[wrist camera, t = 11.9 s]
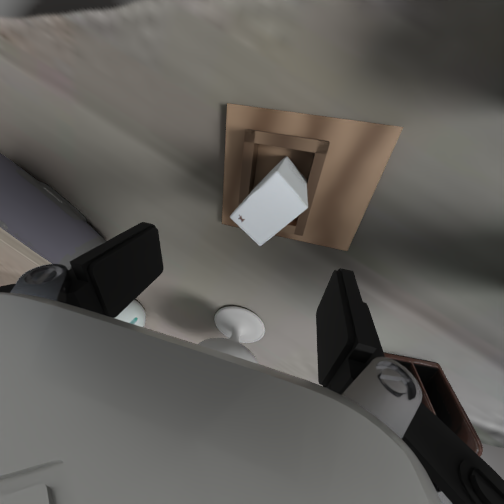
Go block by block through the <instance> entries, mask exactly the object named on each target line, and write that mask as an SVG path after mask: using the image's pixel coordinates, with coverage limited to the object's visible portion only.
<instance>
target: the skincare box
mask: <svg viewBox="0 0 504 504" xmlns="http://www.w3.org/2000/svg"><path fill="white" fill-rule="evenodd" d="M307 208H308V197H307V180H306V178H305V177H304V176H303V175H302V173H301V172H300V171H299V170H298V169H297V167H296V166H295V165H294V164H293V162H292V161H291V160H290V159H289V158H288V157H287V156H285V157H284V158H283V159H282V160H281V161H280V162H279V163H278V164H277V165H276V166H275V167H274V168H273V169H272V170H271V171H270V172H269V173H268V174H267V175H266V176H265V177H264V178H263V179H262V180H261V182H260V183H259V184H258V185H257V186H256V187H255V188H254V189H253V190H252V191H251V192H250V194H249V195H248V196H247V197H246V198H245V199H244V200H243V202H242V203H241V204H240V205H239V206H238V207H237V208H236V209H235V211H234V212H233V213H232V214H231V216H230V218H231V219H232V220H233V221H234V222H235V223H236V224H237V225H238V226H239V227H240V228H241V229H242V230H243V231H244V232H245V233H247V234H248V235H249V236H250V237H251V238H252V239H253V240H254V241H255V242H256V243H257V244H258V245H259V246H261V245H263V244H264V243H265V242H266V241H268V240H269V239H270V238H272V237H273V236H274V235H275V234H277V233H278V232H279V231H280V230H281V229H283V228H284V227H285V226H286V225H287V224H289V223H290V222H291V221H292V220H294V219H295V218H296V217H297V216H299V215H300V214H301V213H302V212H304V211H305V210H306V209H307Z"/></svg>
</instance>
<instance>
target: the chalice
mask: <svg viewBox="0 0 504 504" xmlns="http://www.w3.org/2000/svg"><path fill="white" fill-rule="evenodd" d="M214 321H215V324H216V326H217V328H218V329H219V331H220V332H221V333H222V334H223V335H225V336H226V337H228V338H229V339H227V338H210V339H206V340H204V341H202V342H200V343H199V344H198V345H201V346H204V347H207V348H210V349H213V350H217V351H220V352H223V353H226V354H229V355H232V356H235V357H238V358H241V359H245V360H248V361H251V362H254V363H257V364H259V363H258V361H257V359H256V358H255V356H254V355H253V354H252V353H251V351H250V350H249V349H247V348H246V347H245V346H243V345H242V344H240V343H239V342H241V343H252V342H256V341H258V340H260V339H261V338H262V337H263V336H264V334H265V326H264V324H263V322H262V320H261V319H260V318H259V317H258V316H257V315H256V314H254V313H253V312H251V311H249V310H247V309H245V308H242V307H237V306H228V307H224V308H221V309H220V310H218V311H217V312H216V314H215V317H214Z"/></svg>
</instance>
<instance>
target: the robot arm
mask: <svg viewBox="0 0 504 504" xmlns="http://www.w3.org/2000/svg"><path fill="white" fill-rule="evenodd" d="M70 264H71V267H72V269H70V270H68V269H67V267H66V266H64V265H62V264H48V265H43V266H40V267H36V268H34V269H32V270H29V271H27V272H26V273H24V274H23V275H22V276H21V277H20V278H19V280H18V281H17V283H16V284H11V285H6V286H1V287H0V504H504V480H503V479H502V478H501V477H500V476H499V475H498V474H497V473H496V472H495V471H494V470H493V469H492V468H491V467H490V466H489V465H488V464H487V463H486V462H485V461H483V459H481V458H480V457H479V456H478V455H477V454H476V453H475V452H474V451H473V450H472V449H471V448H470V447H469V446H468V445H467V444H466V443H465V442H463V441H462V440H461V439H460V438H459V437H458V436H457V435H456V434H455V433H454V432H453V431H452V430H451V429H450V428H449V427H448V426H446V425H445V424H444V423H443V422H442V421H441V420H440V419H439V418H438V417H437V416H436V415H435V414H434V413H433V412H432V411H431V410H429V409H428V408H427V407H426V406H425V405H424V404H423V403H422V402H421V401H422V396H423V395H422V390H421V387H420V385H419V383H418V381H417V380H416V378H415V377H414V376H413V375H412V373H411V372H410V371H409V370H408V369H406V368H405V367H404V366H403V365H401V364H400V363H399V362H397V361H395V360H393V359H391V358H387V357H385V356H384V353H383V350H382V347H381V344H380V341H379V338H378V335H377V332H376V329H375V326H374V323H373V320H372V317H371V314H370V311H369V308H368V306H367V304H366V303H364V302H363V301H362V298H361V295H360V292H359V289H358V285H357V282H356V279H355V276H354V273H353V271H349V270H345V269H341V268H340V269H339V270H338V271H336V270H335V271H334V272H333V274H332V276H331V279H330V281H329V283H328V286H327V288H326V290H325V292H324V295H323V297H322V299H321V302H320V304H319V306H318V309H317V313H316V325H317V352H318V379H319V384H321V385H323V387H322V386H320V385H317V384H315V383H312V382H310V381H307V380H304V379H301V378H298V377H295V376H293V375H290V374H287V373H284V372H281V371H278V370H275V369H272V368H269V367H266V366H263V365H260V364H257V363H254V362H251V361H248V360H245V359H241V358H238V357H235V356H232V355H229V354H226V353H223V352H220V351H217V350H213V349H210V348H207V347H204V346H201V345H198V344H195V343H191V342H188V341H185V340H182V339H179V338H176V337H173V336H169V335H166V334H163V333H160V332H157V331H153V330H150V329H147V328H144V327H141V326H138V325H134V324H131V323H128V322H125V321H121V320H118V319H115V317H117V316H118V315H119V314H120V313H121V312H122V311H123V310H124V309H125V308H126V307H127V306H128V305H129V304H130V303H131V302H132V301H133V300H134V299H135V298H136V297H137V296H139V295H140V294H141V293H142V292H143V291H144V290H145V289H146V288H147V287H148V286H149V285H150V284H151V283H152V282H153V281H154V280H155V279H156V278H157V277H158V276H159V275H160V274H161V273H162V272H163V262H162V255H161V248H160V241H159V234H158V229H157V228H156V227H155V225H153V224H149V223H145V222H142V223H140V224H138V225H136V226H134V227H132V228H130V229H128V230H127V231H125V232H123V233H121V234H119V235H117V236H116V237H114V238H112V239H110V240H108V241H106V242H105V243H103V244H101V245H99V246H97V247H95V248H94V249H92V250H90V251H88V252H86V253H84V254H82V255H81V256H79V257H77V258H75V259H73V260H71V261H70Z"/></svg>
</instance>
